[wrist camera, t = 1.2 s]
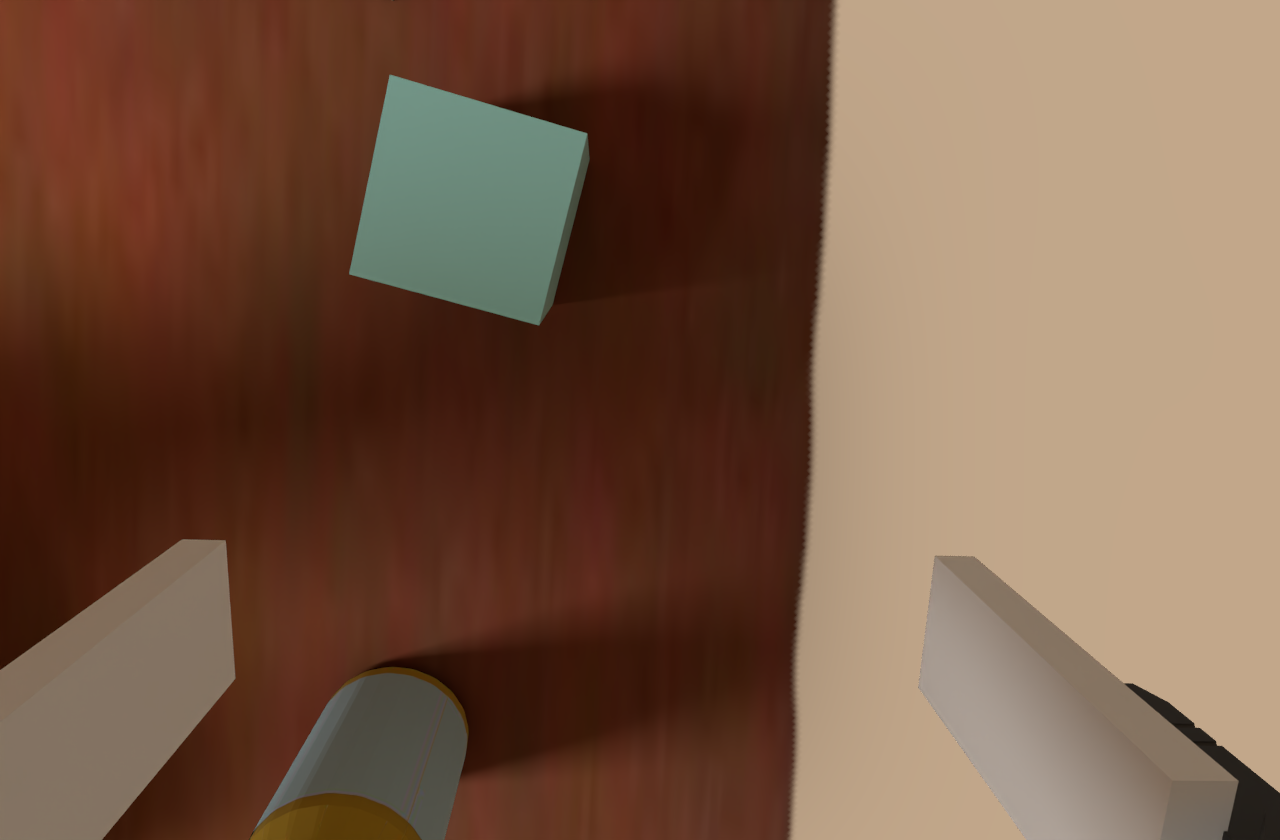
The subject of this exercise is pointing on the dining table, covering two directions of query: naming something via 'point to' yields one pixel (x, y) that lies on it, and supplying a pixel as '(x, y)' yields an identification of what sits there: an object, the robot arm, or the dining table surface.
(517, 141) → the matte teal cube
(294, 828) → the bottle
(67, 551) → the dining table surface
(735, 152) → the dining table surface
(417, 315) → the dining table surface
